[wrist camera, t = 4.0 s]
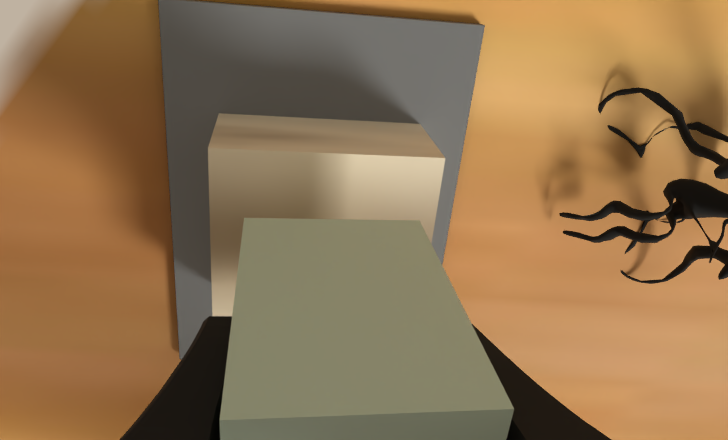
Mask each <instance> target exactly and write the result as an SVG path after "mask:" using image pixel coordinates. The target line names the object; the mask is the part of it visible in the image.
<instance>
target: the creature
mask: <svg viewBox="0 0 728 440" xmlns="http://www.w3.org/2000/svg"><path fill="white" fill-rule="evenodd" d="M634 93H642V94H643V95H645V96H646V97H648V98H649V99H650V100H652V101H653V102H654V103H656V104H657V105H658V106H660V107H661V108H663V109H664V110H665V111H667V112H668V113H669V114H671V115H672V117H673V119H674V121H675V123H676V125H677V126H671V127H668V128H676V129H678V130H679V132H680V135H681V137H682V139H683V141H684V143H685V144H686V146H687V147H688V149H689V150H690V151H691V152H692V153H693V154H695V155H697V156H699V157H704V158H707V159H709V160H711V161H713V162H715V163H716V164H718V165H720V166H718V167H717V168H716V169H715V170H714V174H715V176H716V178H719V179H726V178H728V159H726V158H724V157H723V156H721V155H720V154H718V153H717V152H715V151H713V150H710V149H708V148H706V147H704V146H701V145H699V144H698V143H697V142H696V141H695V140H694V139H693V137H692V136H691V134H690V132H689V129H691V130H697V131H699V132H700V133H702V134H705V135H708V136H711V137H714V138H717V139H720V140H723V141H726V142H728V136H726V135H724V134H722V133H720V132H718V131H716V130H714V129H712V128H711V127H709V126H707V125H704V124H702V123H700V122H696V123H690V124H687V125H686V123H685V120H684V117H683V113H682V112H681V111H680V110H678V109H677V108H676V107H675V106H674V105H672V104H671V103H670V102H669V101H668V100H666V99H665V98H664V97H663V96H662V95H661V94H659V93H657V92H654V91H651V90H649V89H644V88H630V89H622V90H619V91H616V92H614V93H612V94H610V95H608V96H607V97H606V98H605V99H604V100H603V101H602V102H601V103H600V104H599V107H598V111H599V113H601V111H602V109H603V107H604V106H605V104H606V102H608V101H609V100H610V99H612V98H613V97H615V96H618V95H626V94H634ZM608 128H609V129H610V130H611V131H613V132H614V133H616V134H618V135H619V136H621V137H623V138H625V139H626V140H628V141H629V142H630V144H631V145H632V146H633V147H634V148H635V149H636V150H637V152H638V154H639V156H640V157H641V158H642V156H643V154H644V151H645V147H646V145H647V144H648V143H649V142H650V140H651V139H652V138H651V139H650V140H649V141H648V142H647V143H646V144H644V145H642V146H639V145H637V144H636V143H635V142H634V141H632V140H631V139H630V138H629V137H627V136H626V135H625V134H624V133H622V132H621V131H620V130H618V129H616V128H614V127H612V126H610V125H608ZM666 129H667V128H666ZM664 130H665V129H664ZM664 130H662V131H664ZM662 131H660V132H662ZM660 132H658V133H660ZM658 133H656V134H655V135H657V134H658ZM655 135H654V136H655ZM654 136H653V137H654ZM663 192H664V196H665V197H666V198H667V200H668V202H669V205H670V206H669V207H668V208H667V209H666V210H665V211H664V212H657V213H651V212H649V211H647V212H646V211H642V210H637V209H633V208H631V207H629V206H628V205H626V204H624V203H623V202H621V201H612V202H610V203H608V204H607V205H606V206H604V207H603V208H602V209H601V210H600V211H599V212H597V213H594V214H591V215H587V216H580V215H576V214H571V213H559V214H560V216H562V217H566V218H572V219H579V220H587V221H594V220H598V219H602V218H604V217H606V216H608V215H609V214H611V213H621V214H623V215H625V216H627V217H629V218H633V219H637V220H641V221H643V220H645V221H644V224H643V226H642V229H641V231H640V232H635V231H633V230H631V229H629V228H627V227H625V226H617V227H613V228H611V229H609V230H607V231H606V232H604V233H603V234H601V235H599V236H595V237H592V236H588V235H584V234H581V233H578V232H573V231H563V233H564V234H566V235H569V236H573V237H577V238H580V239H584V240H588V241H591V242H594V243H600V242H603V241H607V240H611V239H614V238H615V237H617V236H623V237H626V238H629V239H632V240H634V241H633V243H632V244H631V245H630V246H629V247H628V249H627V250H626V251H625V254H626V252H628V251H630V250H631V249H632V248H633V247H634V246H635V244H636V243H637V241H638V242H641V243H657V242H659V241H661V240H662V239H664V238H666V237H668V236H669V235H670V234H671V233H672V232H673V230H674V228H675V225H676V223H679V222H682V221H684V220H685V219H693V218H694V219H695V220H696V222H697V223H698V224H699V226H700V227H701V229H702V230H703V228H702V226H701V224H700V223H699V221H698V220H697V218H705V217H723V218H728V194H726V193H723V192H721V191H719V190H717V189H715V188H713V187H712V186H710V185H708V184H706V183H702V182H699V181H695V180H691V179H678V180H674V181H672V182H670V183H668V184H667V186H666V188H665V189H664V191H663ZM674 198H676V202H674V203H673V200H674ZM664 215H666V217H667V219H668V220H669V222H667V221H661V222H665V223H670V226H671V230H670V231H669V232H668V233H667V234H663V235H660V236H656V235H651V234H645V233H642V232H643V230H644V228H645V226H646V225H647V223H648V221H651V220H653V219H656V220H657V219H659V218H660V217H662V216H664ZM676 219H682V220H681V221H678V222H676ZM726 224H728V219H726V220H724V222H723V226H722V233H721V236H720V238H719V240H718V241H717V242H714V241H712V240H710V238H709V237H708V236H707V234H706V233H705V232H704V230H703V232H704V234H705V235H706V237H707V239H708V241H709V244H710V246H693V247H692V248H691V250H690V251H689V252H688V253H687V255H686V256H685V258H684V260H683V262H682V263H681V264H680V265H679V266H678V267H677V268H676V269H674V270H673V271H672V272H671V273H670V274H668V275H667V276H666V277H665V278H664V279H662V280H647V281H640V280H638V279H635V278H632V277H630V276H627V275H626V274H625V273H624V272H623V271H621V273H622V274H623V275H624V276H626V277H627V278H629V279H632V280H634V281H637V282H641V283H649V284H653V283H659V282H664V281H668V280H670V279H672V278H674V277H675V276H677V275H679V274H680V273H682V272H684V271H685V270H686V269H687V268H688V267H689V266H690V265H691V263H693V262H694V261H696V260H697V259H704V258H710V261H709V263H710V262H711V260H712V258H715V259H717V260H719V261H720V262H722V263H724V264H725V266H724V267H723V268H722V270H721V271H720V273H719V276H718V278H719V279H724V278H727V277H728V251H727V250H724V249H722V248H719V247H718V246H719V244H720V242H721V240H722V239H723V236H724V230H725V226H726Z"/></svg>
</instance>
